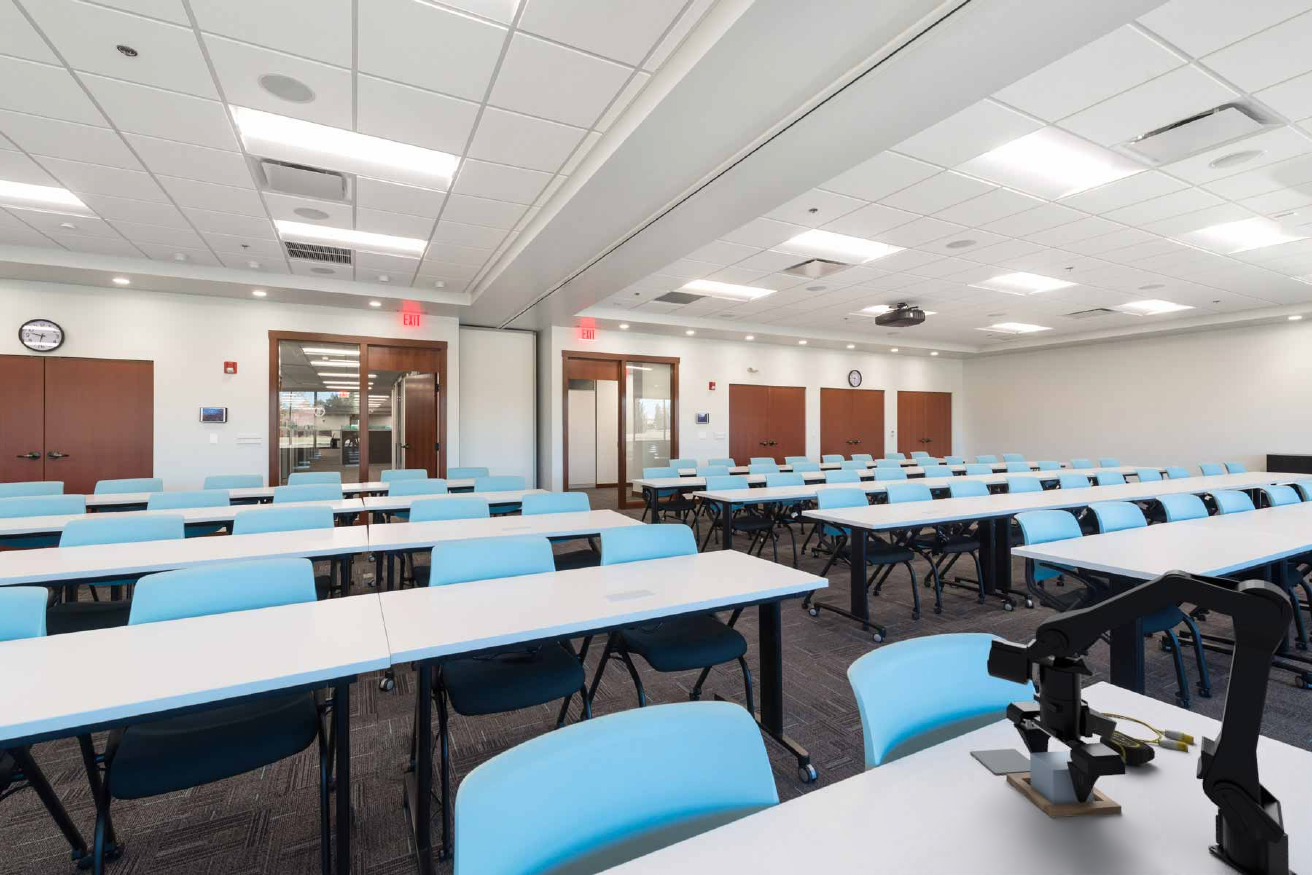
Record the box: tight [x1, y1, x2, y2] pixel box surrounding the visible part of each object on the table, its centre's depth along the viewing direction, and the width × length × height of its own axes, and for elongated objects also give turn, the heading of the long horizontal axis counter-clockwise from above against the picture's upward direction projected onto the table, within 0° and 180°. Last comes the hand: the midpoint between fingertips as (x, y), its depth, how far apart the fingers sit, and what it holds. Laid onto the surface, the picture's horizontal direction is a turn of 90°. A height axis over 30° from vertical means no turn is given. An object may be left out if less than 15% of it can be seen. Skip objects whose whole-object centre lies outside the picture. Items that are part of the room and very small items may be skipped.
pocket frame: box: [1006, 772, 1122, 818], centre depth 94 cm, size 10×12×1 cm
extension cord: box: [1100, 712, 1195, 752], centre depth 114 cm, size 12×16×2 cm
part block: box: [1029, 750, 1094, 804], centre depth 94 cm, size 5×7×6 cm
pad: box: [969, 748, 1030, 776], centre depth 104 cm, size 7×9×1 cm
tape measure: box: [1099, 729, 1156, 766], centre depth 105 cm, size 7×7×4 cm
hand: (1061, 785), depth 94 cm, fingers open, 8 cm apart
